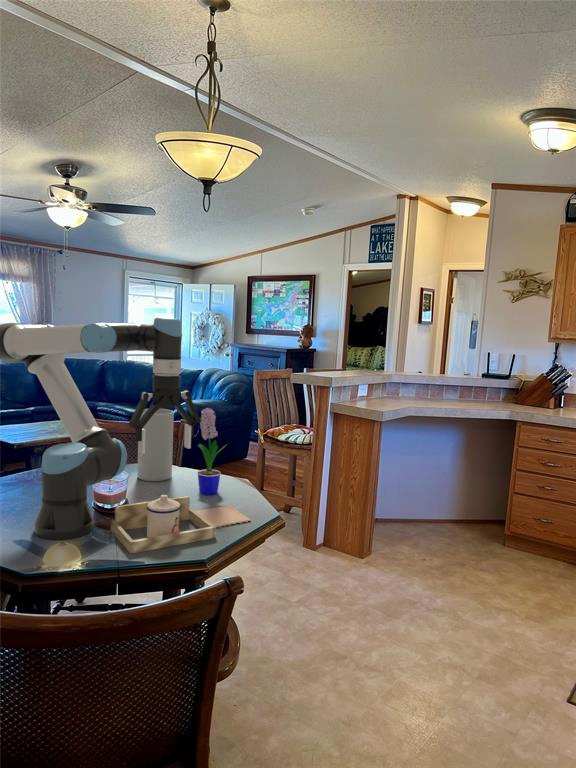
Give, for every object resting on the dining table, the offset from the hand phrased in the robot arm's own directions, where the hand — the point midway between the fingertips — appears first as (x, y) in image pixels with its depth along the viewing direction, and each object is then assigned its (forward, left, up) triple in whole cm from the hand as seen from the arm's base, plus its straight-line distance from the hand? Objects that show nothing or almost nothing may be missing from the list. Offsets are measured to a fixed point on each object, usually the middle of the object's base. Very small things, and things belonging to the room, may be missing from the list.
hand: (165, 450), depth 156 cm
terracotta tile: (+19, +2, -23) cm, 30 cm away
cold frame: (-1, -3, -23) cm, 23 cm away
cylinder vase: (+16, +50, -24) cm, 58 cm away
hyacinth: (+27, +25, -24) cm, 44 cm away
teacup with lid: (-1, -3, -24) cm, 24 cm away
